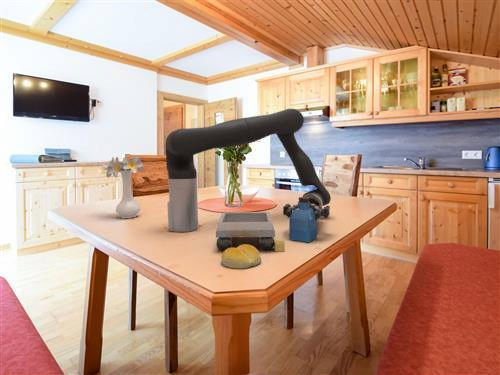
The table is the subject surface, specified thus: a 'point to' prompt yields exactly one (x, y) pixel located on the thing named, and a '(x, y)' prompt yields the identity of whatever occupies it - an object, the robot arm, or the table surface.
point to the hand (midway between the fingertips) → (302, 215)
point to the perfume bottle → (303, 222)
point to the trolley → (247, 229)
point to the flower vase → (125, 183)
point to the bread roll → (241, 257)
